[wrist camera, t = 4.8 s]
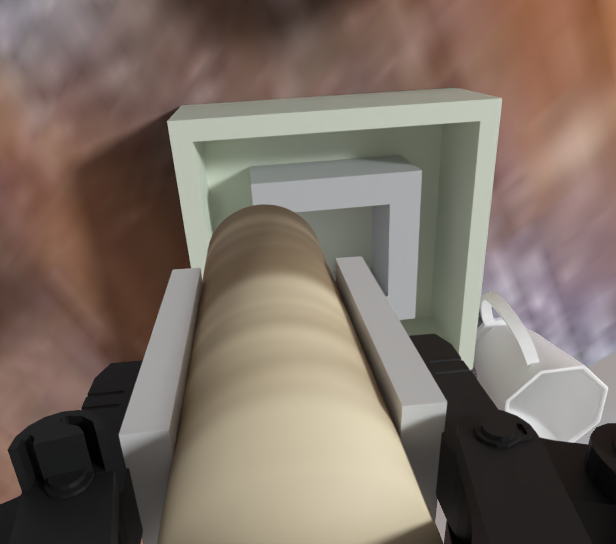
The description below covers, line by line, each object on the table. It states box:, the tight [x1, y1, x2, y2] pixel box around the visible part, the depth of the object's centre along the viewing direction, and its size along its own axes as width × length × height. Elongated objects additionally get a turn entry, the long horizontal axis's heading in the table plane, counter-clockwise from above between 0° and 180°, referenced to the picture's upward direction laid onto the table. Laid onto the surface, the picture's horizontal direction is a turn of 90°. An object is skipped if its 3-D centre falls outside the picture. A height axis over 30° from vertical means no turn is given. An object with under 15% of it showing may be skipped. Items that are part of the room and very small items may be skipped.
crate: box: [167, 88, 502, 370], centre depth 30 cm, size 16×16×6 cm
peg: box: [157, 204, 443, 544], centre depth 12 cm, size 4×4×12 cm
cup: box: [474, 291, 608, 443], centre depth 34 cm, size 7×10×8 cm
